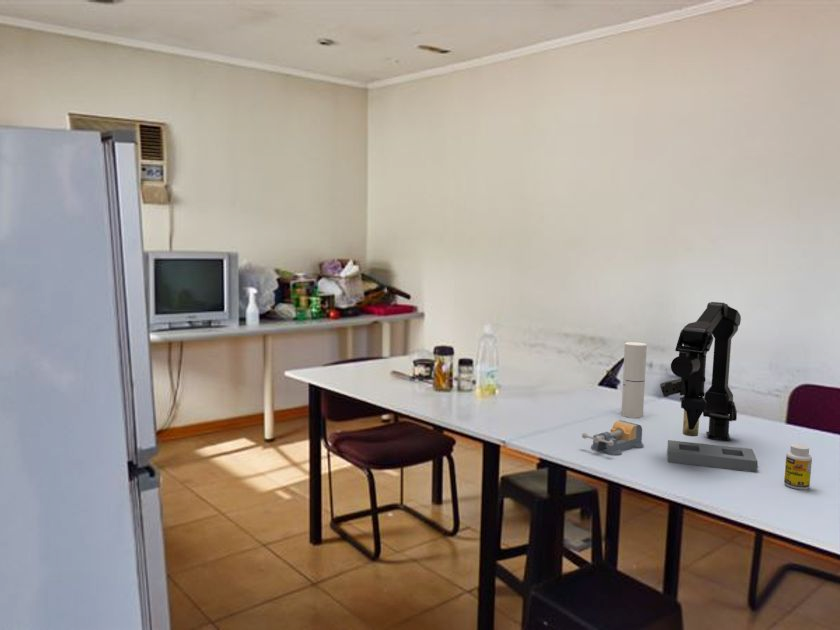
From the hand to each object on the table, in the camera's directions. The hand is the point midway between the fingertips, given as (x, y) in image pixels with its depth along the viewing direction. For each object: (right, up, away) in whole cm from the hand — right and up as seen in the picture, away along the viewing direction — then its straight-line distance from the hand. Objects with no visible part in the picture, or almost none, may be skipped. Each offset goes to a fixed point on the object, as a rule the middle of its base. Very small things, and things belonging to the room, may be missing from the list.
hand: (690, 427), depth 186 cm
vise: (-18, -8, +9) cm, 22 cm away
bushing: (0, -2, 0) cm, 2 cm away
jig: (+5, -9, -1) cm, 10 cm away
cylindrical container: (-2, -4, +46) cm, 46 cm away
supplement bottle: (+19, -12, -19) cm, 29 cm away
